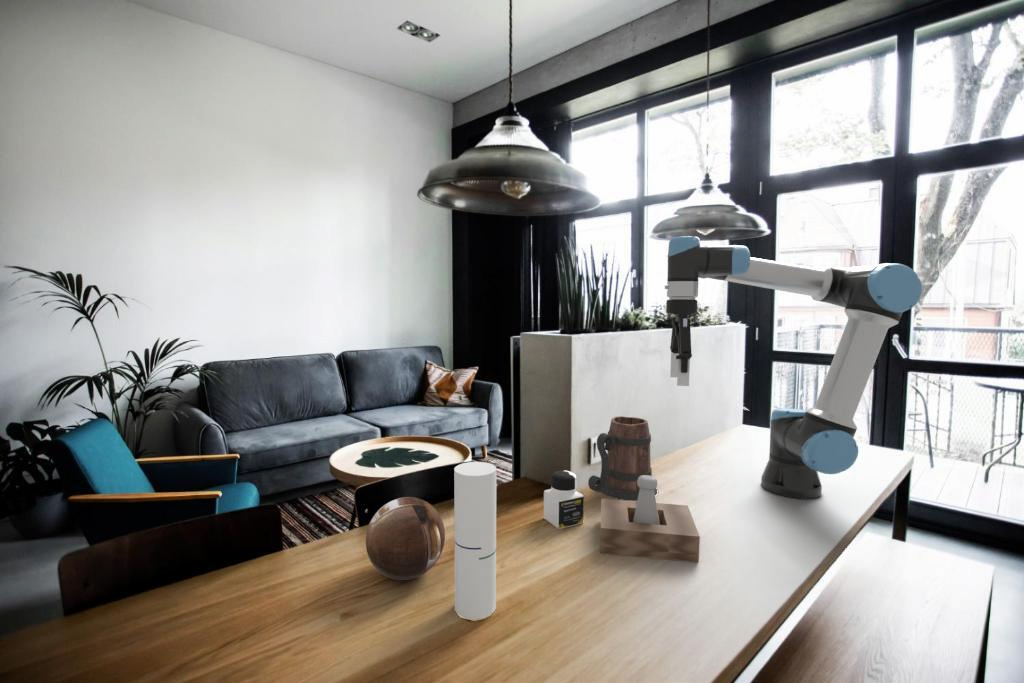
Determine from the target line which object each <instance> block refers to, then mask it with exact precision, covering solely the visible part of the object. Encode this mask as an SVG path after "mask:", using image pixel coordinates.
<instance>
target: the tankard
mask: <svg viewBox="0 0 1024 683" xmlns="http://www.w3.org/2000/svg"><path fill="white" fill-rule="evenodd" d="M651 442H652V434H651V432H650V427H649V421H648V420H647V419H644V418H640V417H635V416H633V417H631V416H619V415H618V416H614V417H612V418H611V420H610V425H609V430H608V431H607V433H605V432H601V433H599V435H598V436H597V439H596V447H597V448H596V449H597V450H598V454H599V455H600V460H601V461H600V462H601V468H600V470H601V471H600V476H597V475H594V474H593V475H591V476H590V477H589V478H588V482H587V483H588V488H589V489H590V490H591V491H594V492H595V493H601V494H603V495H605V496H607V497H608V498H611V499H615V498H617V499H616V500H620V499H623V500H624V501H627V500H638V495H639V490H640V488H639V487H638V485H637V481H638V477H640V476H642V475H649V476H652V474H653V470H652V467H651ZM657 490H658V488H657V489H654V493H655V495H656V494H657Z"/></svg>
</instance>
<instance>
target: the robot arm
mask: <svg viewBox="0 0 1024 683" xmlns="http://www.w3.org/2000/svg"><path fill="white" fill-rule="evenodd" d="M667 250H668V251H667V256H666V257H667V278H666V279H667V284H666V285H664V289H665V290H666V297H667V298H669V299H667V300H666V305H665V306H666V308H665V312H666V314H668V315H675V316H673V317H671V318H672V321H671V326H672V327H671V337H670V338H671V339H670V346H669V349H670V352H671V353H670V375H669V376H670V378H676V386H678V387H690V371H691V370H690V368H691V367H690V366H691V365H690V363H691V359H692V357H693V354H692V339H691V338H692V334H691V322H692V319H691V318H688V317H689V315H696V314H698V300H697V299H696V298H698V297H699V278H700V279H712V280H717V281H725V282H730V283H736V284H742V285H747V286H753V287H757V288H764V289H771V290H776V291H782V292H787V293H792V294H797V295H798V294H799V295H804V296H810V297H811V299H812V300H813V301H815V302H822V303H826V304H831V305H835V306H839V307H842V308H844V313H845V315H846V317H847V322H846V325H845V327H844V329H843V333H842V335H841V337H840V340H839V342H838V345H837V348H836V351H835V354H834V355H833V359H832V360H831V363H830V366H829V369H828V372H827V373H826V376H825V379H824V382H823V384H822V387H821V390H820V392H819V394H818V397H817V400H816V402H815V405H814V406H813V407H811V408H808V409H803V408H801V409H800V408H775V409H774V410H772V412H771V417H770V420H769V422H770V431H769V432H770V434H769V456H768V461H767V463H766V466H765V467H764V470H763V473H761V474H762V475H761V479H760V485H761V486H762V488H764V489H765V490H767V491H768V492H770V493H773V494H776V495H779V496H783V497H787V498H788V497H789V498H794V499H815V498H819V497H821V496H822V489H823V486H822V482H821V479H820V476H819V473H821V474H824V475H836V474H840V473H843V472H845V471H847V470H850V468H851V467H852V466H853V465H854V464H855V462H857V461H856V460H857V459H858V455H859V446H858V444H857V441H856V440H855V435H856V433H857V429H858V427H857V424H856V423H855V421H854V417H855V415H856V412H857V409H858V407H859V404H860V402H861V400H862V397H863V394H864V391H865V390H866V387H867V384H868V381H869V379H870V377H871V374H872V371H873V368H874V366H875V363H876V360H877V358H878V355H879V353H880V351H881V348H882V347H883V346H882V345H883V343H884V340H885V338H886V335H887V333H888V330H889V329H890V328H892V327H894V326H896V325H899V322H900V321H901V320H900V319H901V318H902V315H903V313H905V312H906V311H908V310H910V309H912V308H914V307H915V306H916V305H917V304H918V303H919V301H920V299H921V297H922V293H923V285H922V281H921V279H920V278H919V276H918V273H917V272H916V271H915V270H914V269H913V268H911V267H909V266H908V265H905V264H902V263H891V262H890V263H889V262H884V263H880V264H872V265H871V264H869V265H862V266H861V265H860V266H859V265H857V266H850V267H833V266H828V265H826V266H824V265H823V266H821V267H820V268H817V267H810V266H804V265H799V264H798V265H797V264H793V263H787V262H783V261H782V262H781V261H775V260H770V259H763V258H757V257H751V252H750V250H749V247H747V246H746V245H737V244H733V245H732V244H731V245H730V244H728V245H727V244H726V245H722V244H721V245H716V244H715V245H713V244H711V245H705V244H704V245H703V244H701V240H700V238H699V237H698V236H690V235H688V236H685V235H684V236H676V237H672V238H671V239H670V240H669V242H668V248H667Z"/></svg>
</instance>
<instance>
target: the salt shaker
mask: <svg viewBox="0 0 1024 683" xmlns="http://www.w3.org/2000/svg"><path fill="white" fill-rule="evenodd" d="M637 485H638V487H639V488H640V490H639V495H638V500H637V505H636V509H635V514H634V519H633V523H644V524H656V525H660V522H659V516H658V510H657V505H656V503H657V499H656V497H655V493H654V489H656V488H657V489H658V479H657V478H656V477H655V476H649V475H642V476H640V477H638V481H637Z"/></svg>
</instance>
